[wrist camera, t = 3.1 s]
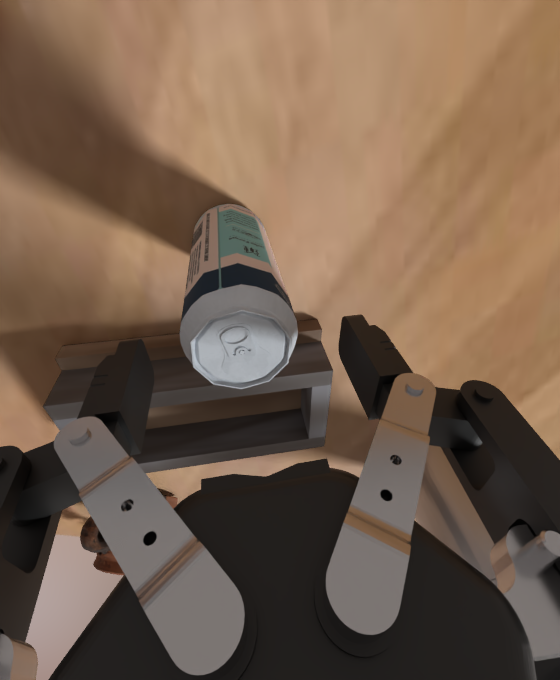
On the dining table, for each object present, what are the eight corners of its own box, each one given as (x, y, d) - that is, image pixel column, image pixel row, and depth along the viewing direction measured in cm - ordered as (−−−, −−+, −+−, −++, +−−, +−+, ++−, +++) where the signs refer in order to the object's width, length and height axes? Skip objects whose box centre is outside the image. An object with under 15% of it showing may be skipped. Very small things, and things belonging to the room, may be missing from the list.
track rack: (62, 345, 25) (34, 394, 21) (317, 319, 27) (334, 358, 23) (114, 439, 32) (100, 487, 28) (311, 412, 35) (323, 453, 31)
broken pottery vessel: (200, 499, 42) (183, 576, 38) (152, 490, 47) (133, 558, 43) (119, 488, 33) (87, 587, 30) (71, 479, 38) (38, 563, 34)
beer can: (209, 279, 23) (205, 407, 14) (181, 213, 20) (153, 322, 11) (273, 260, 23) (312, 377, 14) (254, 191, 20) (289, 283, 11)
